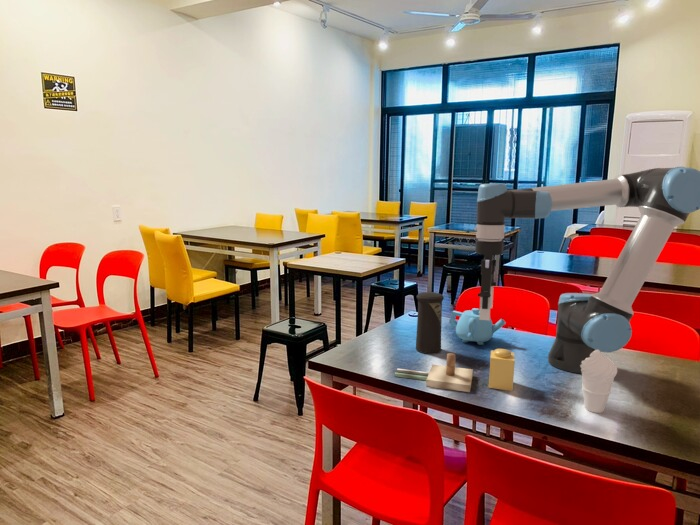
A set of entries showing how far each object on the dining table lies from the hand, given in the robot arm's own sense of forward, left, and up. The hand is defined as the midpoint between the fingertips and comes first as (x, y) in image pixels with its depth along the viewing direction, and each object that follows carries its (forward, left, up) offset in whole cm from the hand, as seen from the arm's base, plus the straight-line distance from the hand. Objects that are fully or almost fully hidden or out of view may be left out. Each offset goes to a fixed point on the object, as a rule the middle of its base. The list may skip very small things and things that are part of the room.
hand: (486, 313), depth 138 cm
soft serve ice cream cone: (-28, +10, -20) cm, 36 cm away
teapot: (+4, -36, -20) cm, 41 cm away
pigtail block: (+14, +4, -20) cm, 25 cm away
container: (+19, -20, -20) cm, 34 cm away
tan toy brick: (-5, +2, -20) cm, 21 cm away
